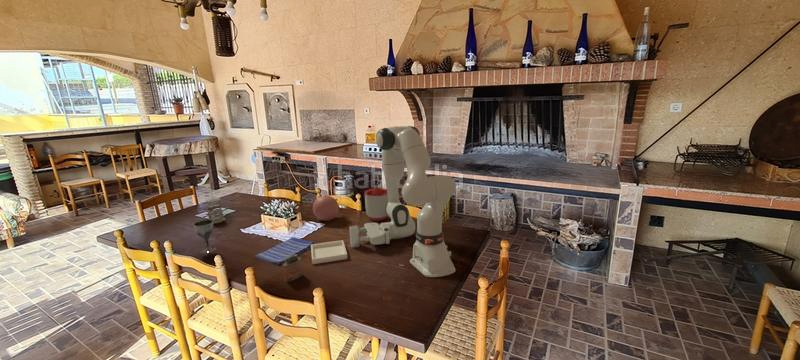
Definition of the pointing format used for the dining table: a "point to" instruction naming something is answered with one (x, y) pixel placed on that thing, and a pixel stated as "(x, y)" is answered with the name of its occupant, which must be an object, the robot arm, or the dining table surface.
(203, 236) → the wine glass
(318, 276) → the dining table surface
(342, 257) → the tray
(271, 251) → the dish towel
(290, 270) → the lighter
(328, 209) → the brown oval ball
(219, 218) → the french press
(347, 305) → the dining table surface
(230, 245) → the dining table surface
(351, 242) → the block
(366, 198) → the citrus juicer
